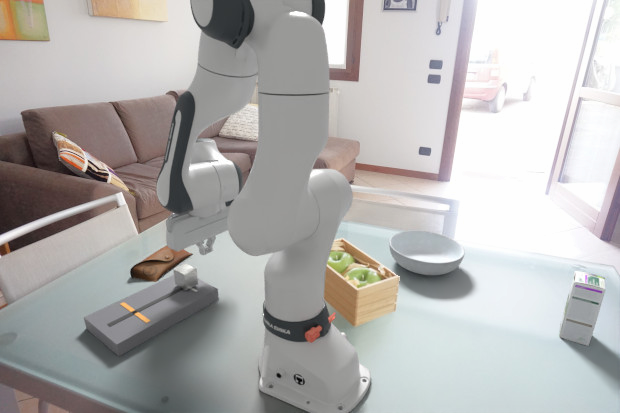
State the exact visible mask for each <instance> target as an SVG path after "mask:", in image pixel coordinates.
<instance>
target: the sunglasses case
mask: <svg viewBox="0 0 620 413" xmlns="http://www.w3.org/2000/svg"><path fill="white" fill-rule="evenodd" d="M192 255H194V253H191V252H189V251H187V250H186V249H183V250H180V251H174V250H172V249H171V248H169V247H168V246H167V244H165V246H163V247H161V248H160V249H158V250H156V251H155V252H153V253H152V254H150V255H149V256H147V257H146V258H144V259H143V260H141V261H140V262H138V263H136V264H134V265H133V266H132V267H131V268H130V270H129V273H130V277H131V278H132V279H133V278H134V279H138V280H142V281H147V282H154V283H157V282H159V280H160V279H161V278H162V277H163V276H164V275H165V274H167V273H168V272H169V271H171V270H173V269H174V268H176V266H177V265H179V264H181V263H182V262H183V261H185V260H187V259H188V258H189V257H191V256H192Z"/></svg>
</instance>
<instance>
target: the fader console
mask: <svg viewBox="0 0 620 413" xmlns="http://www.w3.org/2000/svg"><path fill="white" fill-rule="evenodd" d="M219 298H220V297H219V288H217V287H215V286H213V285H211V284H209V283H207V282H206V281H203V279H202V280H201V279H200V278H198V285H196V286H194V287H192V288H190V289H188V290H184V289H183V288H181V287H179V286H177V285H176V284H175V278H174V274H173V275H171V276H169V277H166V278H164V279H162V280H160V281H157V282H155V283H153V284H151V285H150V286H147V287H145V288H143V289H141V290H138V291H137V292H134V293H132V294H130V295H128V296H126V297H124V298H122V299H120V300H118V301H116V302H114V303H112V304H109V305H107V306H105V307H103V308H101V309H98V310H96V311H94V312H93V313H90V314H88V315H86V316H84V317H83V320H84V324H85V329H86V330H88V331H89V332H90V333H91V334H92V335H93V336H94V337H95V338H97V339H98V340H99V341H101V343H103V344H104V345H105V346H106V347H107V348H108V349H110V350H111V351H112V352H113V353H115V355H117V357H121V356H122V355H124V354H126V353H128V352H129V351H131V350H132V349H133V350H134V348H136V347H138V346H140V345H141V344H143V343H145V342H148V341H149V340H150V339H152V338H154V337H155V336H157V335H159V334H162V332H165V331H166V330H168V329H169V328H171V327H173V326H174V325H177V324H179V323H180V322H182V321H183V320H185V319H187V318H188V317H190V316H192V315H194V314H196V313H198V312H199V311H201V310H202V309H204V308H206V307H208V306H210V305H212V303H215V302H217V301H218V300H219Z"/></svg>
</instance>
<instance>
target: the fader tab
mask: <svg viewBox="0 0 620 413" xmlns="http://www.w3.org/2000/svg"><path fill="white" fill-rule="evenodd" d="M172 270H173V275H174V278H175V284H176V285H177V286H179V287H181V288H183V289H184V290H188V289H190V288H192V287H194V286H196V285H198V279H199V278H198V270H197V268H195V267H193V266H192V265H190V264H187V263H183V264H181V265H179V266H177V267H176V266H175V267H174V268H172Z"/></svg>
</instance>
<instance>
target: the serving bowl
mask: <svg viewBox="0 0 620 413" xmlns="http://www.w3.org/2000/svg"><path fill="white" fill-rule="evenodd" d="M388 242H389V243H388V245H389V251H390V254H391V257H392V258H393V259H394V261H395V263H397V265H399V266H401V267H402V268H404V269H405V270H408V271H410V272H412V273H415V274H420V275H424V276H442V275H445V274H448V273H451V272H452V271H455V270H456V269H457V268H458V267H459V266H460V265H461V263H462V261H463V259H464V257H465V249H464V247H463V245H462V244H461V243H459V241H457V240H455V239H453V238H452V237H449V236H447V235H445V234H443V233H439V232H433V231H429V230H422V229H421V230H419V229H415V230H412V229H411V230H405V231H400V232H397V233H395V234H393V235H392V236H391V237H390V238H389V241H388Z"/></svg>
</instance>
